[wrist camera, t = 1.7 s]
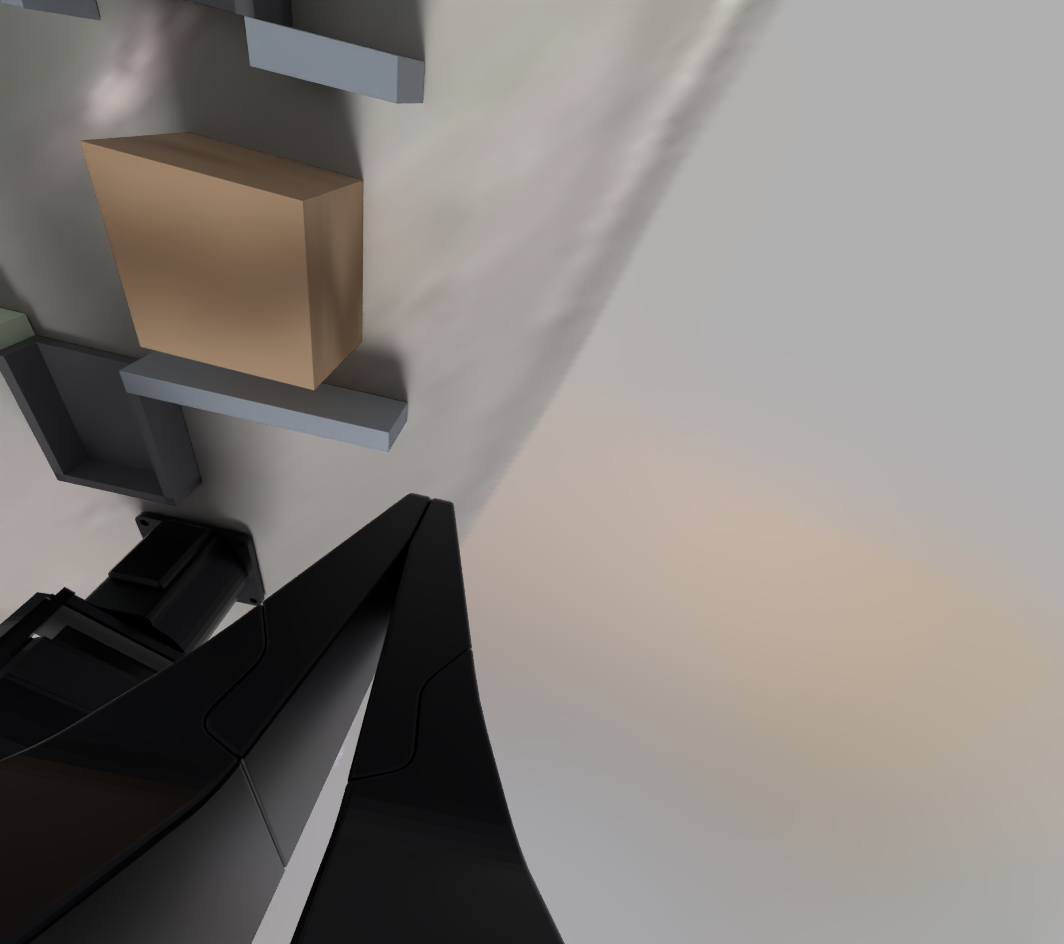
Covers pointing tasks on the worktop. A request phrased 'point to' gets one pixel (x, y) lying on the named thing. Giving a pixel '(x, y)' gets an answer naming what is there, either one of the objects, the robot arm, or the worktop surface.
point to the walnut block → (233, 253)
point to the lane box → (170, 381)
